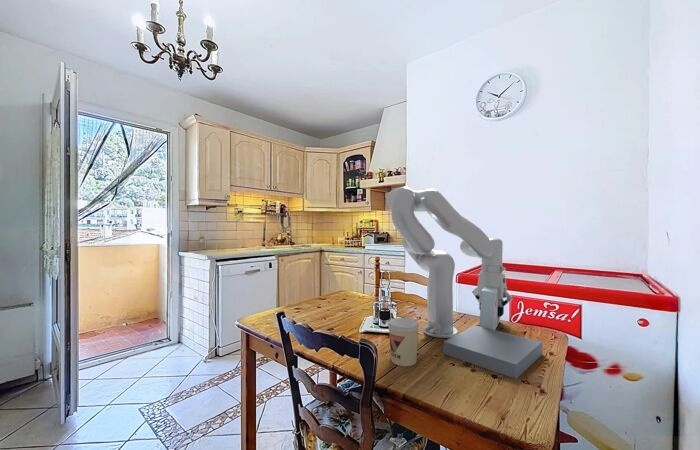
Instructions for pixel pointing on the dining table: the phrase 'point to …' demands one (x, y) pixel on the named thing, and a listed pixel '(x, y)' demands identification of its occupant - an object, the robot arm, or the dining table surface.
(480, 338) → the podium
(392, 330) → the coffee cup
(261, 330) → the dining table surface
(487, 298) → the skincare box
